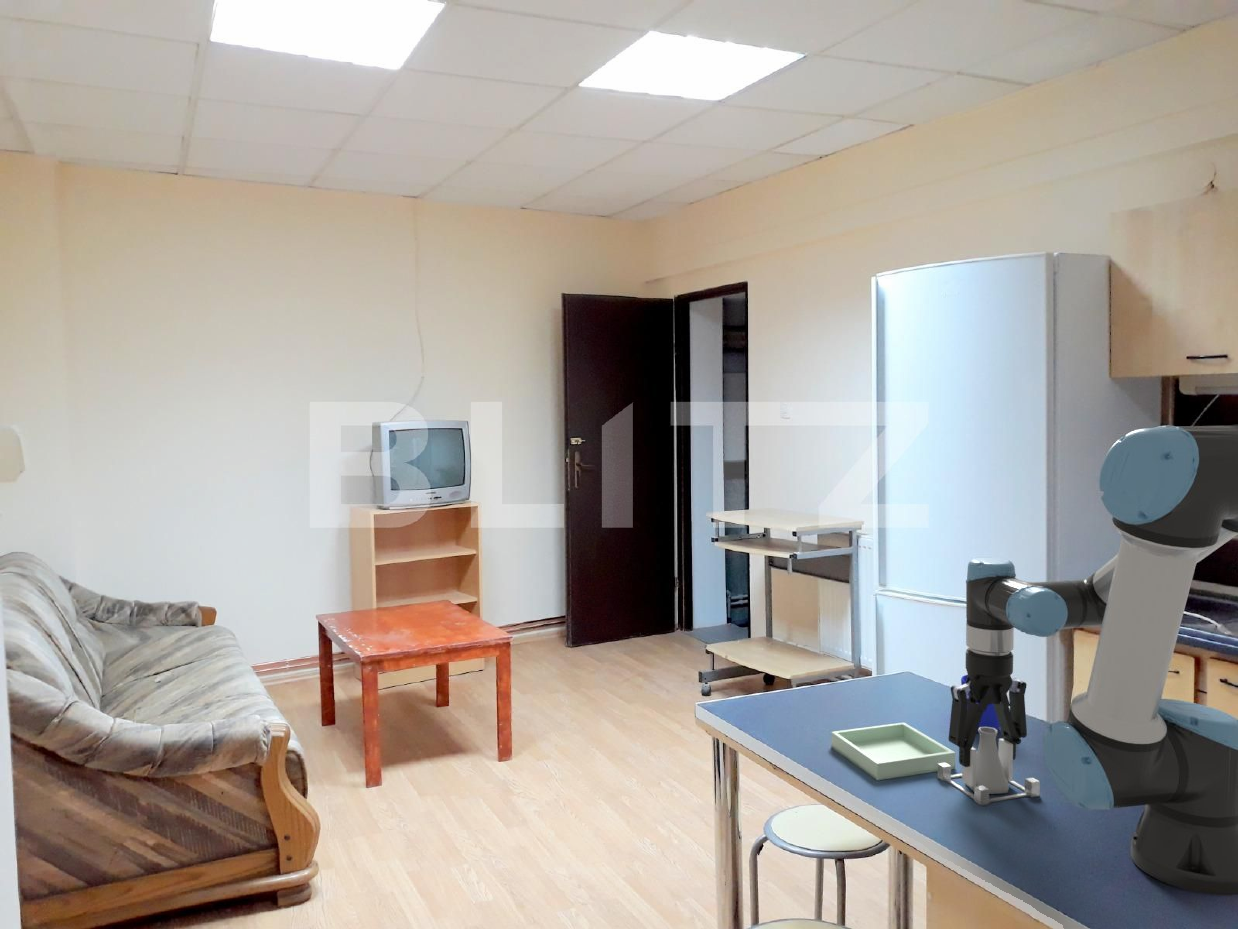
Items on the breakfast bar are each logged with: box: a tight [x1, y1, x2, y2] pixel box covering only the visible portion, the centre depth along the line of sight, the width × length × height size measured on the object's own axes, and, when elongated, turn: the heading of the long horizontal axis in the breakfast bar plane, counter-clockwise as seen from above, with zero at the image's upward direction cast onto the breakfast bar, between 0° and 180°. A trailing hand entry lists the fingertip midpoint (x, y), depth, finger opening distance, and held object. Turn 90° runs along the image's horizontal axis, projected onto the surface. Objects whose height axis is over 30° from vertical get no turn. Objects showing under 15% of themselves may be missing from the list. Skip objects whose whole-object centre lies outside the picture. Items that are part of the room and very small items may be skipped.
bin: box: [830, 722, 956, 781], centre depth 170 cm, size 16×16×3 cm
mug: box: [960, 674, 1001, 733], centre depth 186 cm, size 8×12×10 cm
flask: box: [964, 727, 1010, 795], centre depth 157 cm, size 7×7×10 cm
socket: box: [937, 763, 1041, 806], centre depth 157 cm, size 12×12×2 cm
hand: (987, 780), depth 157 cm, fingers closed on flask, 7 cm apart
